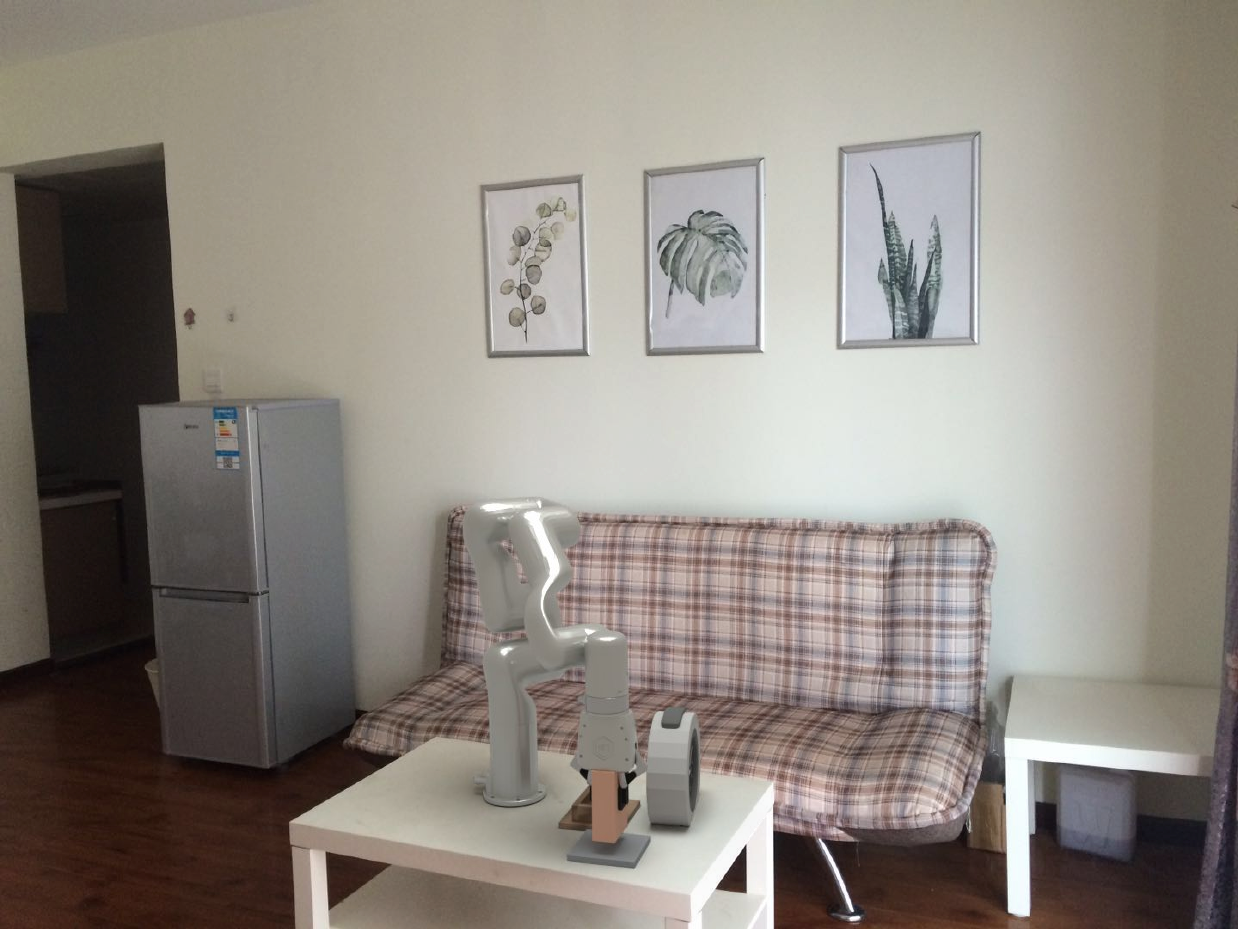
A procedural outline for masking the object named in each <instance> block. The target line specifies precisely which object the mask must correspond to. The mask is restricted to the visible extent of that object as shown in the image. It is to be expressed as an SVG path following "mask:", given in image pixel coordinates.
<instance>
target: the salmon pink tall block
mask: <svg viewBox="0 0 1238 929" xmlns="http://www.w3.org/2000/svg"><path fill="white" fill-rule="evenodd" d="M591 772H592V841H598V842H608V843H615V842H616V841H617V839H618V838H619V837H620V835H621V834H622V833H624V831H625V830H626V829H627V827H628V825H627V804H626V806H625V807H624V809H623V810H622V811H619V810H618V788H619V783H620V782H619V777H618V772H615V771H603V770H592V771H591Z"/></svg>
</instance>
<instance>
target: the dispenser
mask: <svg viewBox="0 0 1238 929" xmlns="http://www.w3.org/2000/svg"><path fill="white" fill-rule="evenodd" d="M639 806H640V807H641V800H640V799H630V798H629V802H628V804H627V826H628V824H629V823H630V821H631V820H632V819H633V817H634V816H635V814H636V813H637V811H638V810H639V808H640V807H639ZM637 809H638V810H637ZM558 829H564V830H565V829H566V830H573V831H574V830H575V831H584V832H585V831H586V830H587V829H590V830H592V801H590V785H588V786H586V788H584V790H583V791H582V792H581V793H580V795H579V796H578V797H577V799H576V800H574V802H573V803H572V804H571V807H570V808H569V810H568V811H567V812H566V813H565V814H564V816H563V817H561V819H560V820H559V822H558Z"/></svg>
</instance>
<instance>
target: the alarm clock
mask: <svg viewBox="0 0 1238 929" xmlns="http://www.w3.org/2000/svg"><path fill="white" fill-rule="evenodd" d="M699 724H700V723H699V718H698V715H697V713H695V712H687V708H685V707H679V706H668V707H666V708H665V709H664V710H663V711H662V710H661V711H660V710H657V712H655V713H654V715H653V718H652V721H651V725H650V730H649V736H648V745H647V752H646V754H647V755H646V765H647V767H648V769H647V771H646V772H645V773H646V774H645V775H646V776H645V778H646V779H645V780H646V782H645V785H646V786H645V790H646V792H645V793H646V794H645V795H646V807H647V815H648V819H649V822H650V824H651V825H652V824H653V825H665V824H667V825H668V826H680V825H683V826H684V827H690V826H691V825H690V824H692V822H691V821H693V819H692V818H694V815H695V812H696V809H697V806H698V803H699V798H700V797H699V796H700V786H701V732H700V725H699ZM696 805H697V806H696ZM694 811H695V812H694Z"/></svg>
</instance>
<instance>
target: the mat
mask: <svg viewBox="0 0 1238 929" xmlns="http://www.w3.org/2000/svg"><path fill="white" fill-rule="evenodd" d="M651 839H652V838H651V835H645V834H637V833H625V832H623V833H622V834H621V835H620V837H619V838H618V839H617V841H616V842H615V843H608V842H598V841H592V830H590V829H587V830H586V831H584V832H583V833H582V834H581V836H580V837H579V838H578V840H577V841H576V842H575V844H574V845H573V846H572V847H571V849H570V850H569V851H568V853H567V854H566V861H568V862H575V863H576V862H577V863H585V864H594V865H601V866H602V865H603V866H613V867H619V868H627V869H635V868H636V867H637V865H638V864H639V862H640V860H641V858H642V856H643V854H644V853H645V851H646V850H647V849H648V846H649V845H650V843H651Z"/></svg>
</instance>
